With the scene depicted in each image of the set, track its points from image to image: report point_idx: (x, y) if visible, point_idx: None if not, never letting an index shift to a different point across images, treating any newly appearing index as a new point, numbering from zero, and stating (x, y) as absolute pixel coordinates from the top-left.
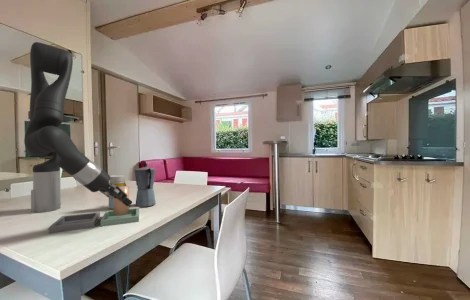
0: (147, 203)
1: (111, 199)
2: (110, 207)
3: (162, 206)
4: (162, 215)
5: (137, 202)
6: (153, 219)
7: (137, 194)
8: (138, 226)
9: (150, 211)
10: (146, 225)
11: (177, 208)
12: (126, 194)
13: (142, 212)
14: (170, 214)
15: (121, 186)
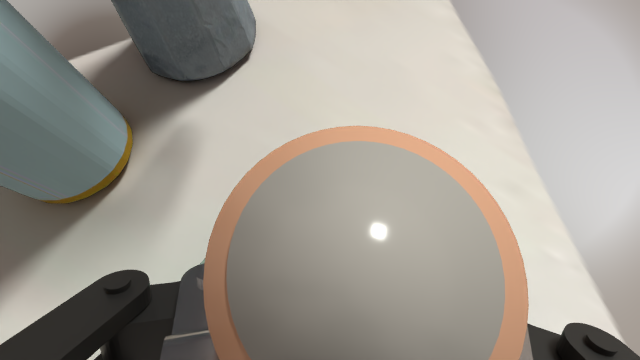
0: (240, 39)
1: (1, 169)
2: (50, 198)
3: (313, 17)
4: (465, 114)
5: (173, 59)
6: (492, 183)
7: (128, 2)
8: (550, 317)
9: (334, 99)
10: (570, 277)
11: (419, 8)
12: (618, 347)
13: (307, 130)
14: (486, 85)
15: (292, 209)
